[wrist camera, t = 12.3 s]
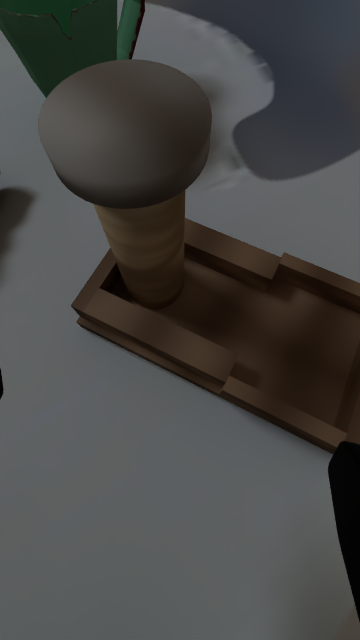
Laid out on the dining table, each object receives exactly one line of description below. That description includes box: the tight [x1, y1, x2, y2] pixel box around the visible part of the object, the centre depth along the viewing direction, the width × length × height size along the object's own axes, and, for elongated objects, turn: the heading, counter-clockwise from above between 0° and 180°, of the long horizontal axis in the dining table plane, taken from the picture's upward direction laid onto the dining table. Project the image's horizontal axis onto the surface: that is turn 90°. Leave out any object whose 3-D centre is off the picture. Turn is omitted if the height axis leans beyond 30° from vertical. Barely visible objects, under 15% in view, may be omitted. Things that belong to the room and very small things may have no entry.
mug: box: [0, 0, 145, 98], centre depth 27 cm, size 15×10×10 cm
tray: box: [71, 218, 360, 454], centre depth 22 cm, size 20×11×3 cm, turn 63°
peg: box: [38, 59, 212, 309], centre depth 17 cm, size 6×6×13 cm
